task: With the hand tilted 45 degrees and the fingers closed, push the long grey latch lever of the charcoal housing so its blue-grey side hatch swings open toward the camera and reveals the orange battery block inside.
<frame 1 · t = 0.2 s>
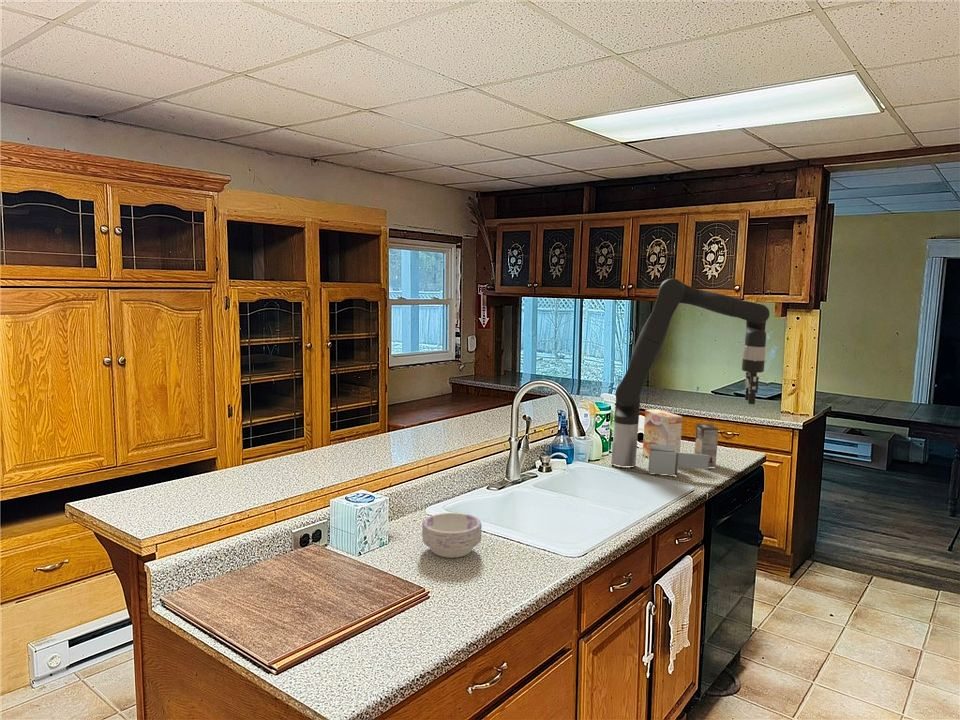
hand: (749, 402, 246), 29 cm above the countertop, tool pointing down, fingers open, 8 cm apart
coffee box: (704, 465, 266), on the countertop
door: (678, 464, 246), point 5 cm above the countertop, hinge at 0.0°
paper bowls: (451, 551, 172), on the countertop
housing: (660, 472, 254), on the countertop
coffeecake box: (660, 460, 272), on the countertop
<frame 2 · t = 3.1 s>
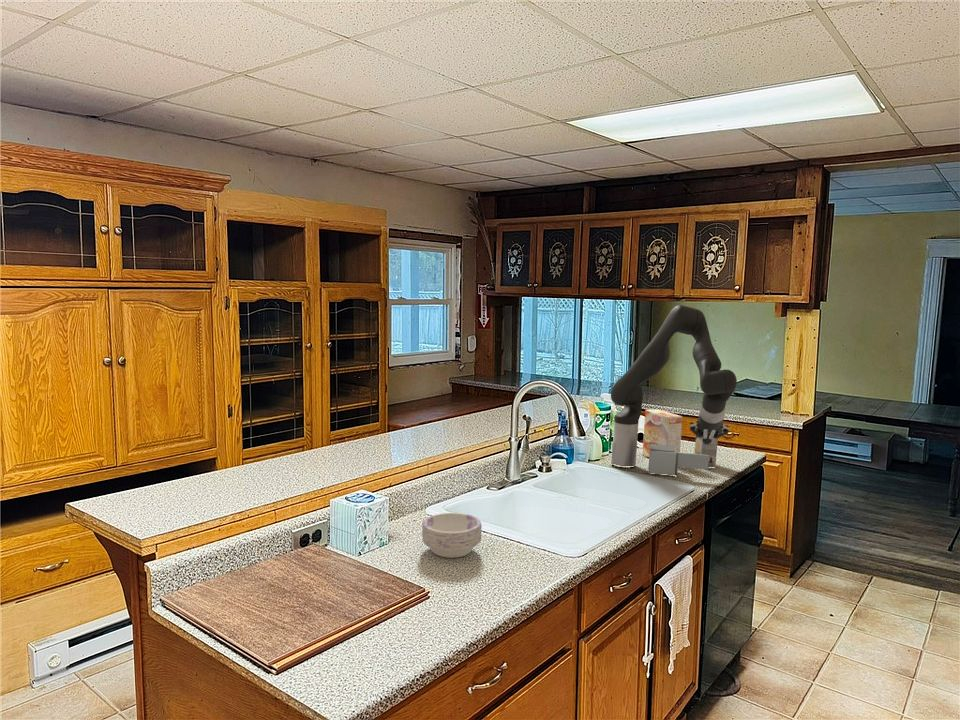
hand: (706, 442, 229), 17 cm above the countertop, tool tilted 45°, fingers closed
nothing on the countertop moved.
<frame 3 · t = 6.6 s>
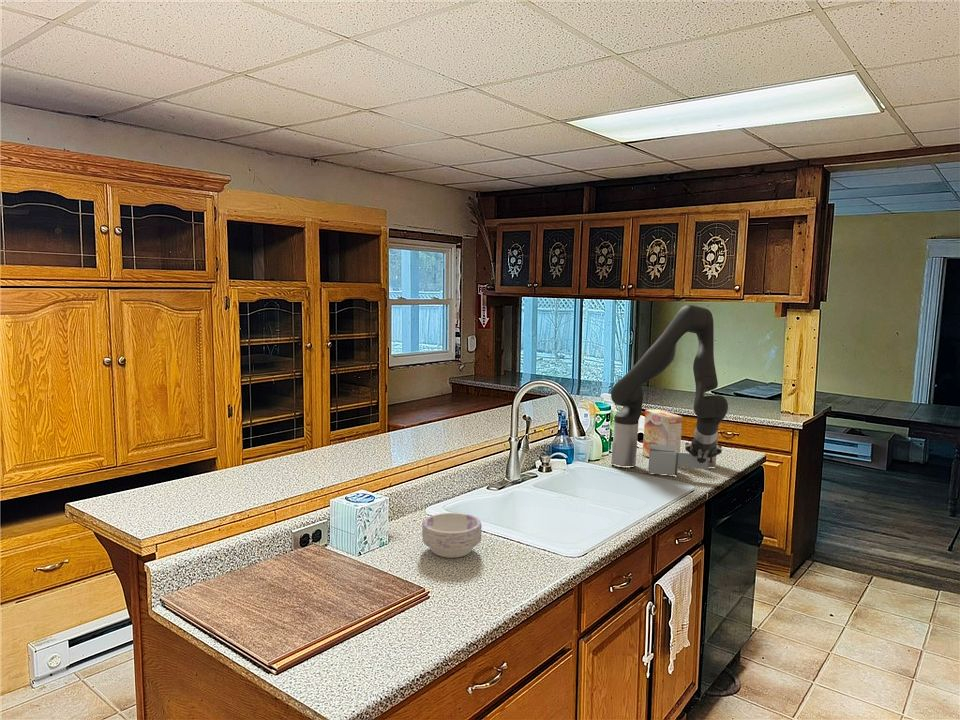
hand: (701, 460, 243), 7 cm above the countertop, tool tilted 45°, fingers closed
door: (678, 464, 246), point 5 cm above the countertop, hinge at 1.6°, touching gripper
everything else where it was.
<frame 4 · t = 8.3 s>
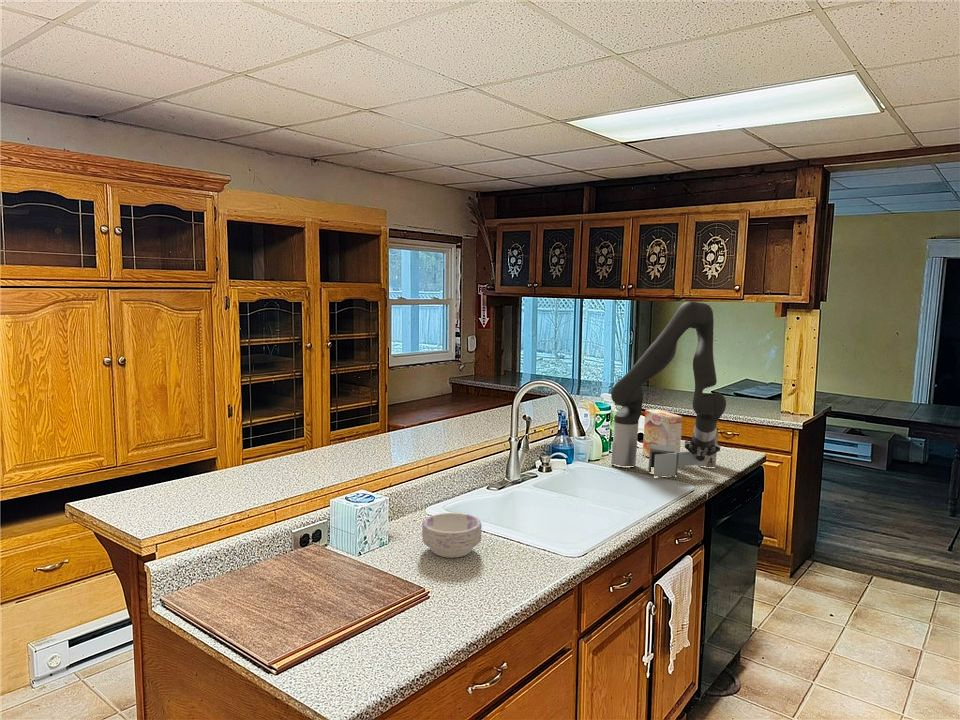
hand: (700, 459, 249), 7 cm above the countertop, tool tilted 45°, fingers closed
door: (678, 464, 247), point 5 cm above the countertop, hinge at 35.6°, touching gripper
everything else where it was.
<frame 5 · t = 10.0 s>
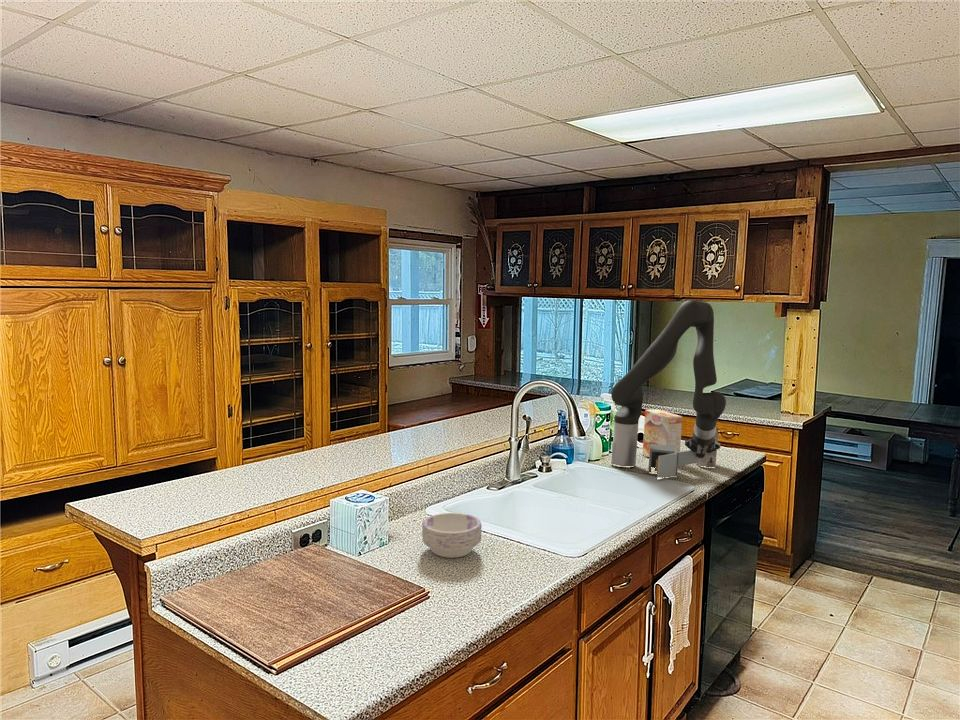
hand: (700, 456, 252), 7 cm above the countertop, tool tilted 45°, fingers closed
door: (677, 464, 247), point 5 cm above the countertop, hinge at 47.6°, touching gripper
everything else where it was.
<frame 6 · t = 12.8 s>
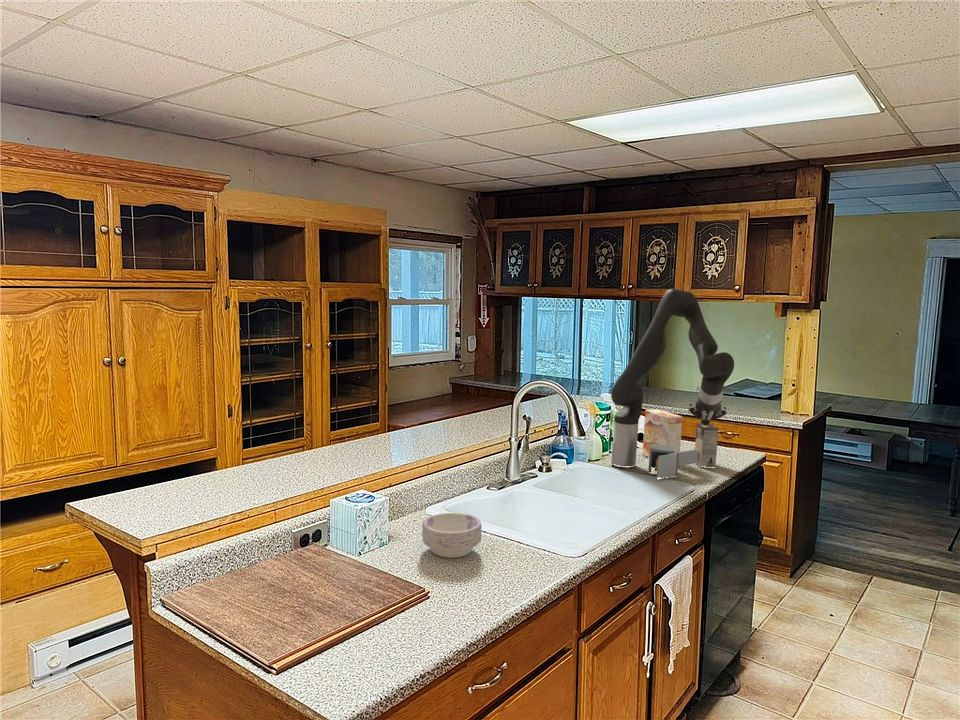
hand: (704, 423, 238), 22 cm above the countertop, tool tilted 45°, fingers closed
door: (677, 464, 247), point 5 cm above the countertop, hinge at 47.7°
everything else where it was.
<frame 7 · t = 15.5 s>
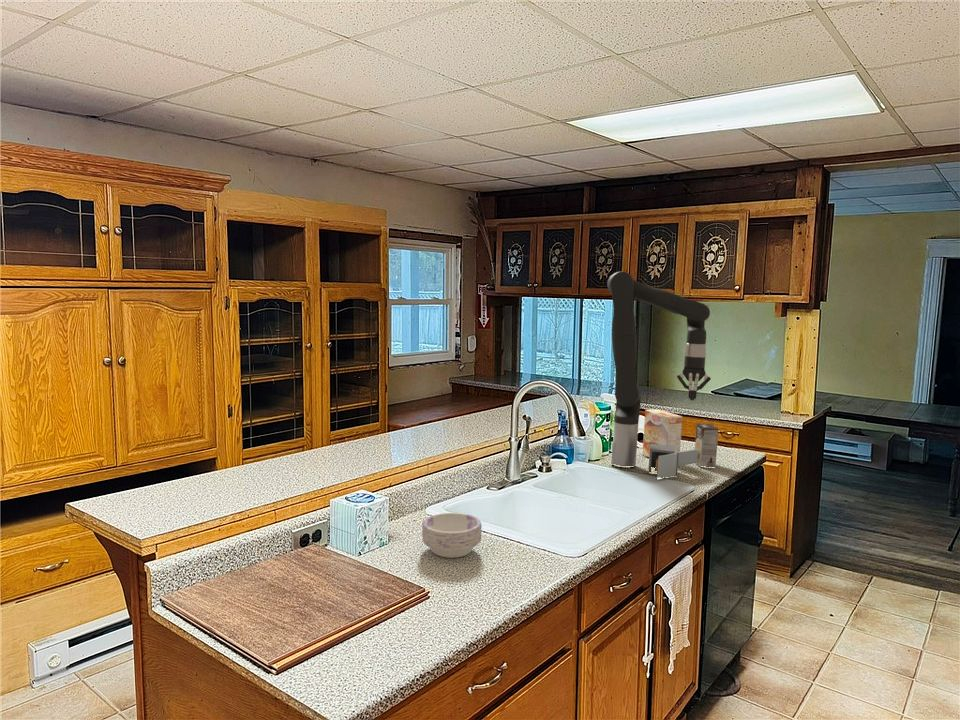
hand: (691, 399, 258), 27 cm above the countertop, tool pointing down, fingers closed
nothing on the countertop moved.
at the end: door at +48° (first picture: +0°); the gripper is holding nothing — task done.
